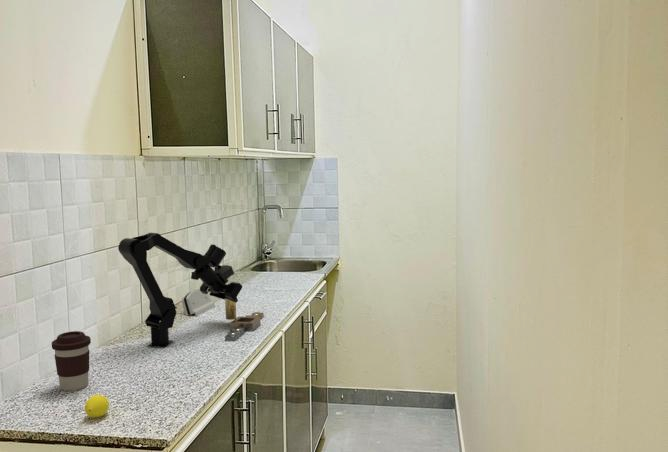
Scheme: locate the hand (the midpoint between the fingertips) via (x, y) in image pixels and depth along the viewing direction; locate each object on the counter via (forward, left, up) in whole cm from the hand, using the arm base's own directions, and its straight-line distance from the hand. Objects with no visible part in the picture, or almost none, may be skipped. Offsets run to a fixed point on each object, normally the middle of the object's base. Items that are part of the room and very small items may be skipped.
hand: (233, 300), depth 229 cm
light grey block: (+16, +22, -9) cm, 29 cm away
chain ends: (-5, -7, -9) cm, 12 cm away
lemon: (-85, +4, -9) cm, 86 cm away
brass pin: (-1, +1, -7) cm, 7 cm away
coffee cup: (-68, +22, -9) cm, 72 cm away
